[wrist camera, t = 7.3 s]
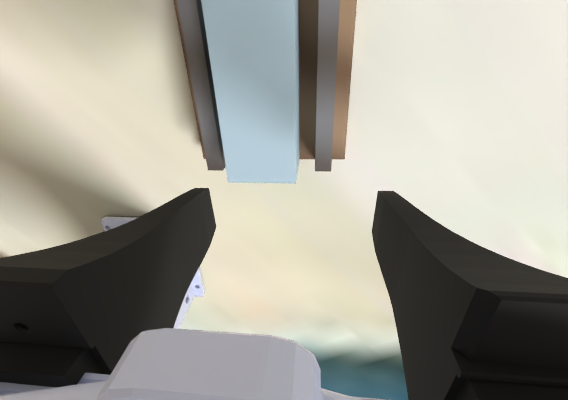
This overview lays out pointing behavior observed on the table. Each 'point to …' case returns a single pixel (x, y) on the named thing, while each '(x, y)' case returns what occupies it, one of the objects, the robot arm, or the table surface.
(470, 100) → the table surface
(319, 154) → the cradle
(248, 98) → the dome-topped blue pillar
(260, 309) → the table surface
